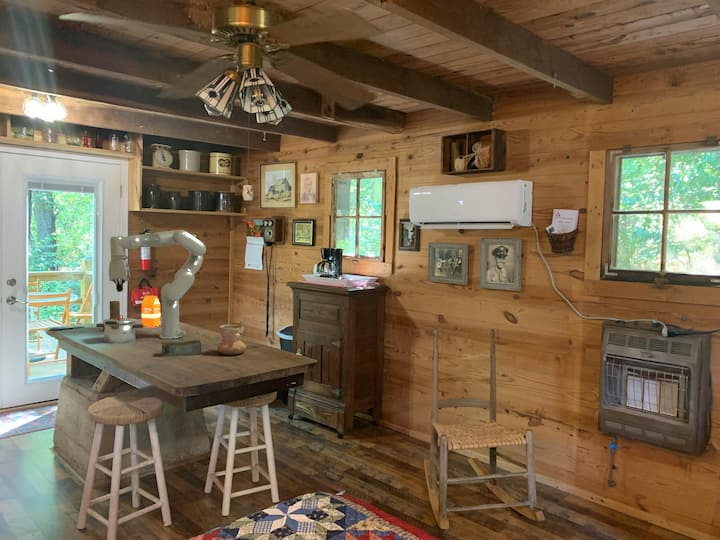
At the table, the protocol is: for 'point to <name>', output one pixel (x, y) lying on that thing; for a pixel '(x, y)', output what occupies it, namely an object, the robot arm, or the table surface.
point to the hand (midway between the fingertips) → (119, 291)
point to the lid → (119, 320)
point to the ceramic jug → (231, 340)
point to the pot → (120, 332)
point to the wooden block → (114, 310)
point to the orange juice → (151, 311)
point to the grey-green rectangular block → (181, 348)
